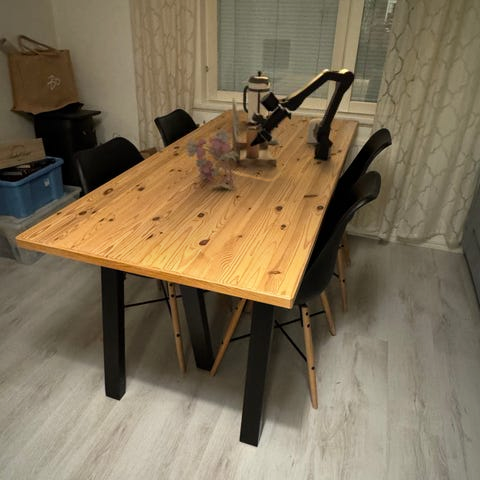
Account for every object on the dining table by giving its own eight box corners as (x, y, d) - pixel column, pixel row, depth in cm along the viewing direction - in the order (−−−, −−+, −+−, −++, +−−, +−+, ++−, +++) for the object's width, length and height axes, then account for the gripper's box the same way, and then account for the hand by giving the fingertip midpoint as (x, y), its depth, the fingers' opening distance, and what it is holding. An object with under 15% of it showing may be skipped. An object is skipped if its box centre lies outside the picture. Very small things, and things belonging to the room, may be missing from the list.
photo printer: (324, 140, 213) (327, 117, 207) (327, 143, 210) (330, 119, 203) (305, 141, 212) (308, 117, 206) (308, 143, 208) (310, 119, 202)
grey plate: (281, 141, 211) (281, 137, 210) (271, 147, 202) (271, 143, 201) (261, 137, 217) (262, 134, 216) (250, 143, 208) (250, 139, 207)
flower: (251, 171, 168) (225, 115, 158) (255, 186, 148) (225, 124, 138) (209, 191, 171) (180, 138, 161) (206, 209, 151) (174, 149, 141)
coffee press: (270, 120, 249) (273, 69, 234) (269, 127, 236) (272, 72, 220) (242, 119, 251) (243, 68, 236) (240, 126, 237) (241, 72, 222)
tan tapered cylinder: (261, 155, 187) (262, 127, 180) (255, 159, 183) (255, 130, 176) (250, 153, 190) (250, 125, 183) (243, 157, 185) (244, 128, 179)
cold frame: (267, 149, 199) (270, 97, 187) (276, 168, 176) (279, 110, 163) (232, 149, 198) (232, 97, 185) (236, 169, 174) (236, 110, 162)
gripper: (260, 101, 183) (236, 126, 188) (265, 110, 167) (239, 137, 172) (276, 119, 188) (252, 142, 192) (283, 129, 172) (256, 154, 176)
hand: (249, 143), depth 183 cm, fingers closed on tan tapered cylinder, 6 cm apart
